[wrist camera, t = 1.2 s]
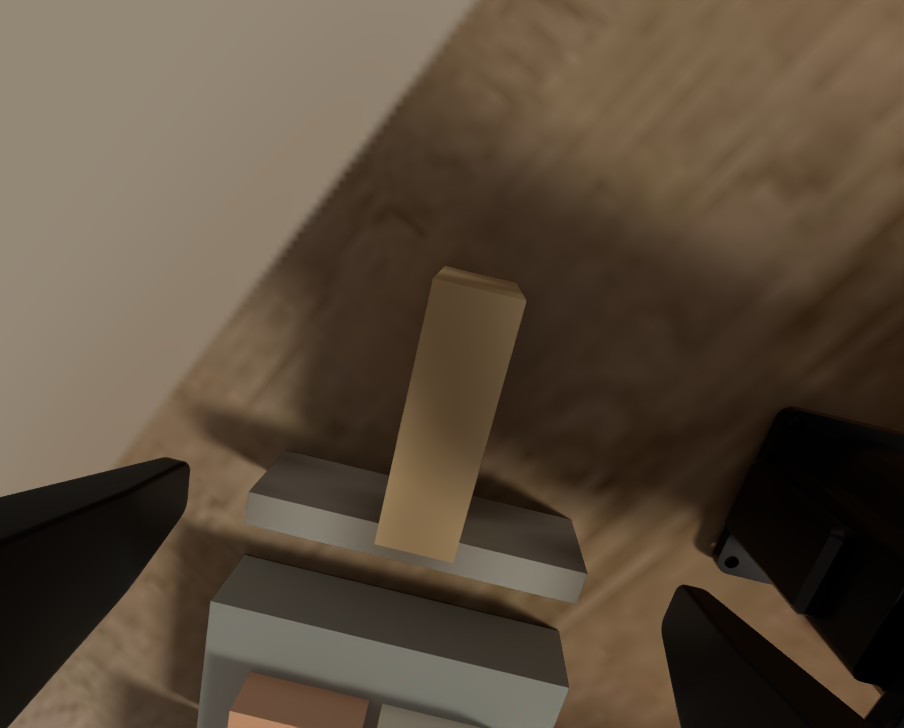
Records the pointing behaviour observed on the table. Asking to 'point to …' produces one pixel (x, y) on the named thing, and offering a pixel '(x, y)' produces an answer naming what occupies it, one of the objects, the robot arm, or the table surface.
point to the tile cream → (413, 719)
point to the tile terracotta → (293, 706)
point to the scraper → (435, 463)
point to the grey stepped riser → (377, 650)
